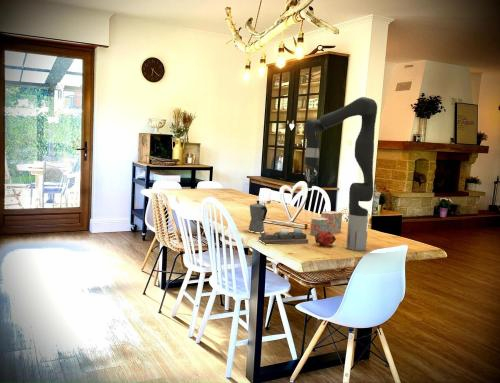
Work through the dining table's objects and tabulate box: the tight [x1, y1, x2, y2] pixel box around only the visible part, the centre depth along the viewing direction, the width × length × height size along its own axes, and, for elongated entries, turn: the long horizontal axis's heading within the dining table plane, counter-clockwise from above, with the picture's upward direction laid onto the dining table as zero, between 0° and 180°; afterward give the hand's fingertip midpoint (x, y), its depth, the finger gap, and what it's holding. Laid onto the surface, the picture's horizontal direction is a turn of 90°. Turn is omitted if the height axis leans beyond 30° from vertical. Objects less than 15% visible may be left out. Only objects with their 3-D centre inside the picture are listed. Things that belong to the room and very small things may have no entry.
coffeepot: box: [248, 199, 268, 232], centre depth 260 cm, size 15×9×18 cm, turn 33°
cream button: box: [279, 228, 289, 235], centre depth 239 cm, size 4×4×3 cm
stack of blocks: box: [309, 210, 343, 236], centre depth 269 cm, size 21×6×12 cm, turn 134°
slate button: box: [292, 227, 303, 234], centre depth 242 cm, size 4×4×3 cm
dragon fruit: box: [314, 231, 337, 247], centre depth 236 cm, size 8×8×12 cm
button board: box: [258, 231, 309, 245], centre depth 239 cm, size 10×24×4 cm, turn 111°
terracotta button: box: [264, 231, 275, 235], centre depth 236 cm, size 4×4×3 cm
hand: (309, 188), depth 254 cm, fingers closed
